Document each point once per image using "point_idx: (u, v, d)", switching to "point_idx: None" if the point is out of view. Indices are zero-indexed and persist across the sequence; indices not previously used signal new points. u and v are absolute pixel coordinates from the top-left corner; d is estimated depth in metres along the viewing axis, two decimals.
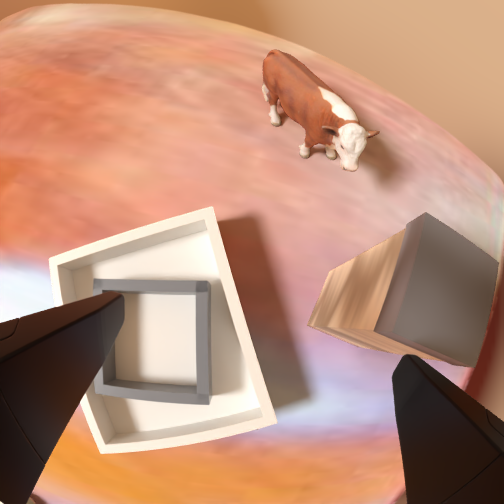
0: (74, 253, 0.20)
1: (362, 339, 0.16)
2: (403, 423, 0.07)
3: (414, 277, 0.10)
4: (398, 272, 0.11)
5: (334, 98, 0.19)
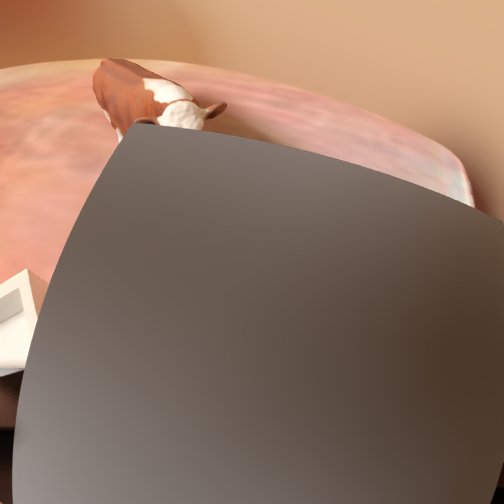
0: None
1: None
2: None
3: (44, 370, 0.02)
4: None
5: (159, 84, 0.13)
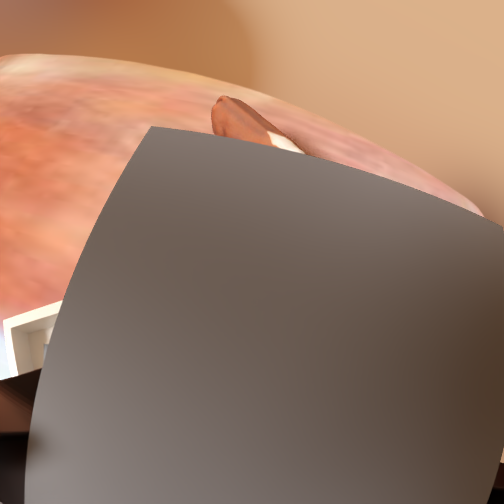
0: (25, 316, 0.17)
1: None
2: None
3: (64, 361, 0.02)
4: None
5: (284, 143, 0.20)
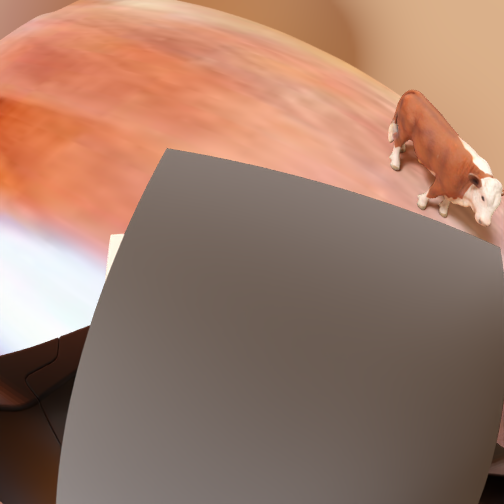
0: None
1: None
2: None
3: (94, 388, 0.02)
4: None
5: (473, 151, 0.16)
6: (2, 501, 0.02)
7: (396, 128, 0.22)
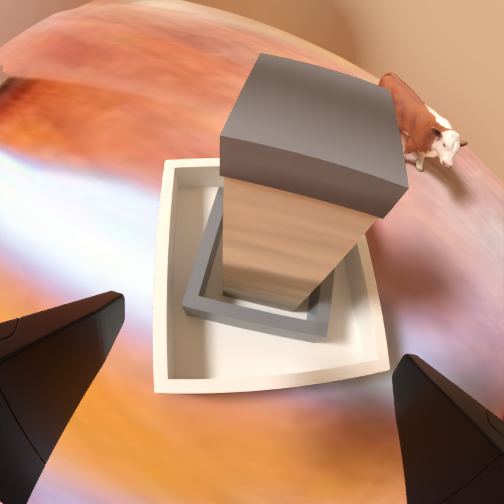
0: (199, 161, 0.21)
1: (266, 263, 0.13)
2: (403, 423, 0.07)
3: (248, 91, 0.08)
4: None
5: (436, 113, 0.22)
6: None
7: None
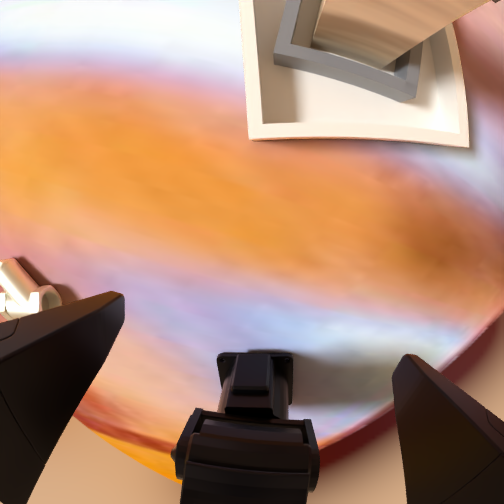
0: None
1: (369, 14, 0.09)
2: (403, 423, 0.07)
3: None
4: None
5: None
6: None
7: None
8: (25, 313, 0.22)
